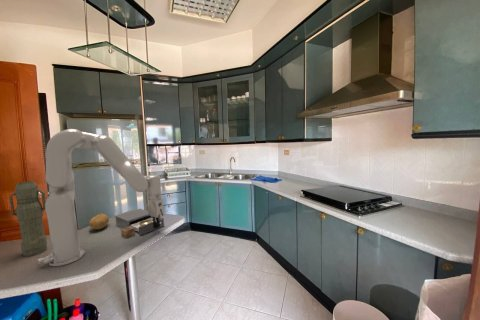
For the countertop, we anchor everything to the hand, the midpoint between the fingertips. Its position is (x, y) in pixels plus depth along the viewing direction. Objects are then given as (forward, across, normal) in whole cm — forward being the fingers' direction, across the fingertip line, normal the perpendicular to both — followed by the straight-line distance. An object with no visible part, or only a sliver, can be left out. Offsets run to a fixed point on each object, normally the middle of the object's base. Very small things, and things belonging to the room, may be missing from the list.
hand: (156, 227), depth 118 cm
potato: (+3, +37, +16) cm, 40 cm away
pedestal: (+3, +11, +11) cm, 16 cm away
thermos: (+3, +34, +45) cm, 56 cm away
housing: (+3, +25, 0) cm, 25 cm away
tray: (+3, +12, 0) cm, 13 cm away
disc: (+1, +12, 0) cm, 12 cm away
